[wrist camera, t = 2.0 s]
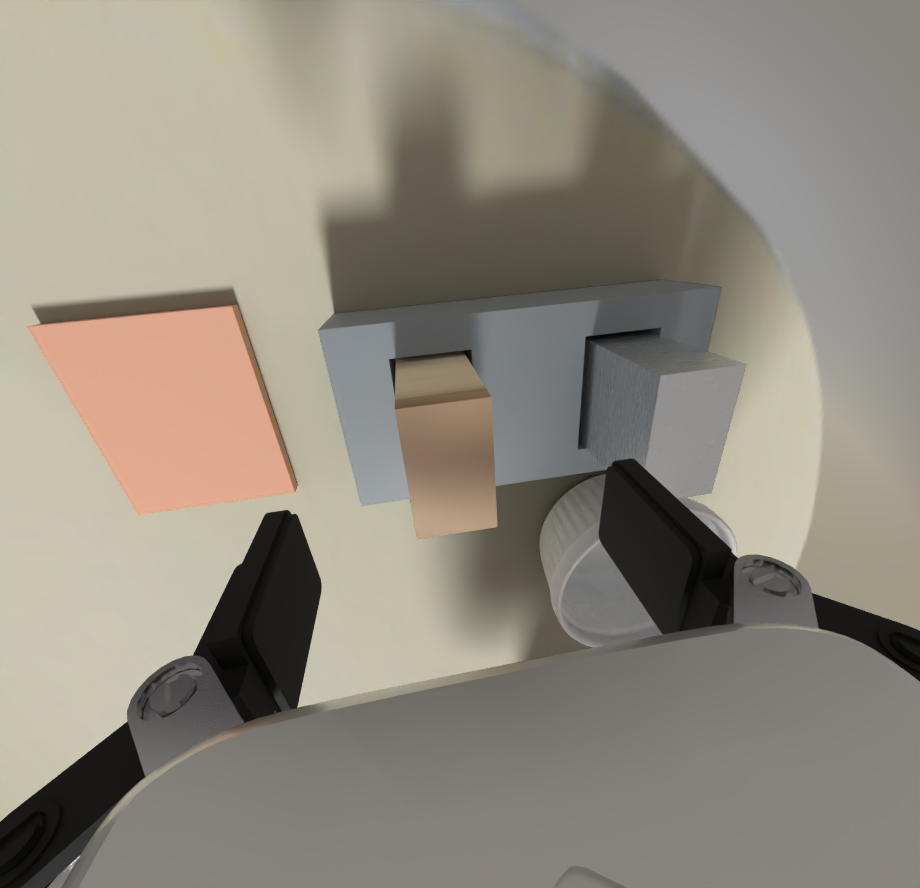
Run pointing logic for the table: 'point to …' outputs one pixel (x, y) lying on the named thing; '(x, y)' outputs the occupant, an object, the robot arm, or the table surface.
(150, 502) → the mat
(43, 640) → the table surface
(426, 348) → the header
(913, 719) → the robot arm
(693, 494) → the steel plug
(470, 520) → the beech plug
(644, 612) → the ramekin
